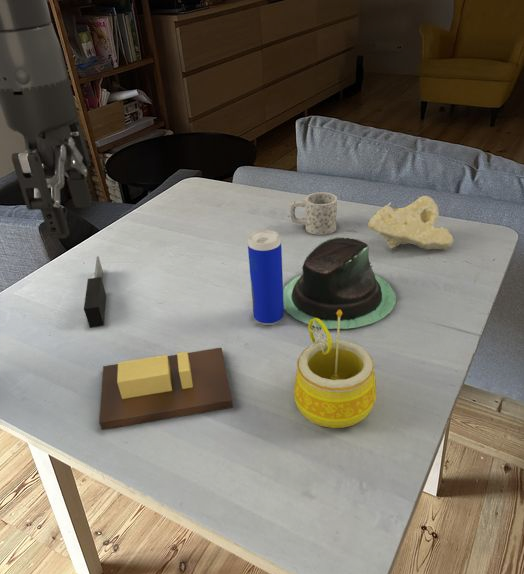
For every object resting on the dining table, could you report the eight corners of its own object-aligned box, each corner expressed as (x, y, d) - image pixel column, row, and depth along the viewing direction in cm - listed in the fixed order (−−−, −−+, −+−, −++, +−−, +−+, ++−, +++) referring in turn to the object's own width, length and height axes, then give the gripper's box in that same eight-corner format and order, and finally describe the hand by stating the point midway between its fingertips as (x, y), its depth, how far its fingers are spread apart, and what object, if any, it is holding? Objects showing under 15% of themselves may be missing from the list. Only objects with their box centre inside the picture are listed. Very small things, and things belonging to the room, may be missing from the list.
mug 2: (374, 438, 68) (382, 366, 61) (289, 430, 70) (287, 359, 63) (375, 373, 78) (382, 304, 71) (301, 367, 80) (300, 300, 73)
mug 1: (338, 221, 118) (339, 192, 114) (334, 235, 113) (335, 205, 109) (293, 219, 120) (292, 191, 116) (287, 233, 115) (286, 203, 111)
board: (101, 430, 72) (98, 422, 71) (105, 373, 81) (103, 366, 81) (233, 407, 74) (232, 399, 73) (222, 354, 83) (221, 347, 83)
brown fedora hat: (307, 254, 105) (408, 274, 98) (274, 338, 99) (380, 364, 93) (293, 206, 92) (410, 224, 85) (255, 299, 86) (377, 327, 79)
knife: (104, 325, 92) (98, 306, 89) (89, 328, 91) (83, 308, 89) (108, 271, 106) (103, 253, 104) (96, 273, 106) (90, 255, 104)
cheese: (445, 241, 112) (395, 190, 111) (467, 227, 105) (414, 172, 104) (403, 289, 108) (351, 235, 107) (424, 277, 101) (368, 220, 100)
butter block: (122, 399, 75) (117, 382, 73) (122, 379, 78) (117, 362, 76) (172, 390, 75) (168, 373, 73) (170, 371, 79) (167, 354, 77)
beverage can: (261, 306, 93) (256, 227, 84) (288, 312, 92) (286, 232, 82) (248, 322, 90) (241, 241, 81) (276, 329, 88) (272, 247, 79)
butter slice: (182, 389, 75) (178, 372, 73) (180, 369, 79) (176, 352, 77) (192, 387, 76) (189, 370, 74) (190, 368, 79) (187, 351, 77)
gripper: (24, 64, 62) (64, 198, 72) (-38, 95, 51) (19, 249, 61) (87, 61, 61) (118, 197, 71) (38, 91, 50) (83, 248, 60)
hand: (72, 221), depth 66 cm, fingers open, 8 cm apart
